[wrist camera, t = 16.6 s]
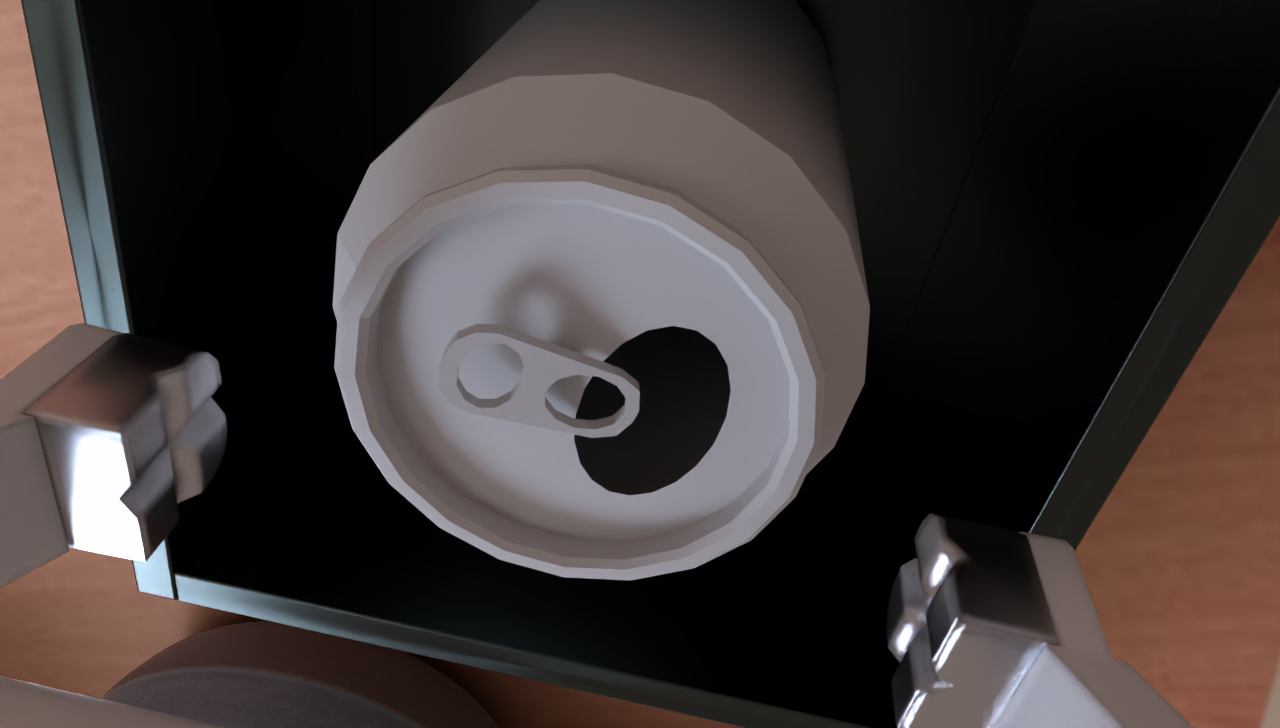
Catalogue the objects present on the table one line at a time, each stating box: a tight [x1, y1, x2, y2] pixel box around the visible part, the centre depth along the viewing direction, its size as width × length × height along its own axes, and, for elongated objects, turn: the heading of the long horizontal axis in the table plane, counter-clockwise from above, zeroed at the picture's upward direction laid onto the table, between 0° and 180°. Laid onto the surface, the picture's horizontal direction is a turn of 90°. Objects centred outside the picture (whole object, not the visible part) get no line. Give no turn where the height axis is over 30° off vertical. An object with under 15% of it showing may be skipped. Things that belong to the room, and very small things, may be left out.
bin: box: [21, 0, 1280, 728], centre depth 18 cm, size 16×16×10 cm
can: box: [333, 0, 870, 580], centre depth 16 cm, size 8×8×12 cm
